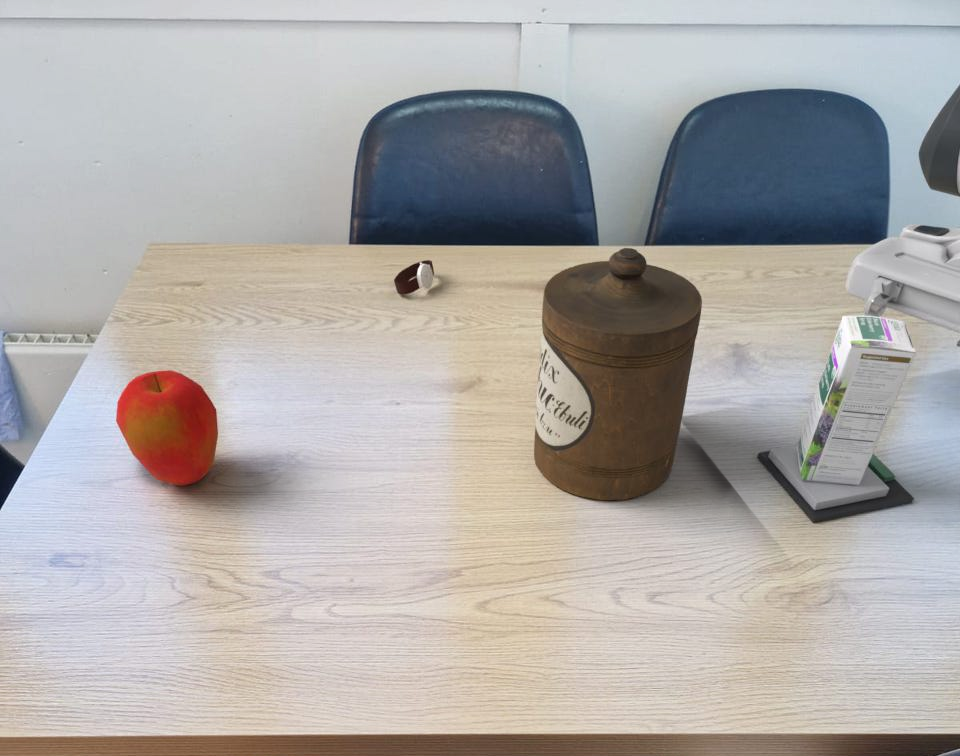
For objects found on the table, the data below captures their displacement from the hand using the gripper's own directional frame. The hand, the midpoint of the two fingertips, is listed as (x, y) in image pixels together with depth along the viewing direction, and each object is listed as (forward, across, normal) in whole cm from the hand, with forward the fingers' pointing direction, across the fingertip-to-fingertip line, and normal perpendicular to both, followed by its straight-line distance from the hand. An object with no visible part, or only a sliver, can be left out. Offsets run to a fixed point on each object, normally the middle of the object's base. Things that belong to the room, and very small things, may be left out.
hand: (917, 324), depth 83 cm
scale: (+10, 0, -15) cm, 18 cm away
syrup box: (+10, 0, -11) cm, 16 cm away
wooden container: (+21, +20, -15) cm, 32 cm away
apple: (+54, +49, -14) cm, 74 cm away
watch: (+8, +63, -14) cm, 65 cm away
